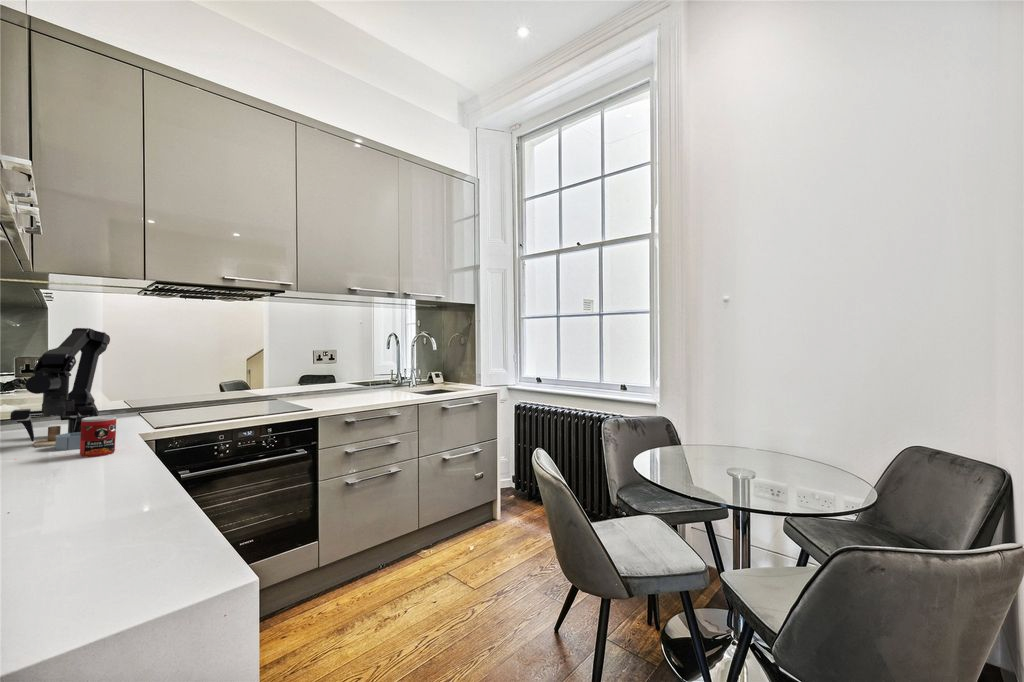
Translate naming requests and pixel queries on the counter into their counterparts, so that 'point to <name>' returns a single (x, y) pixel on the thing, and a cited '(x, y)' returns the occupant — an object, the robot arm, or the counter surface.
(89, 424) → the canned food
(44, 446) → the mat
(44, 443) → the lid
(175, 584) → the counter surface
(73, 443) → the bowl
